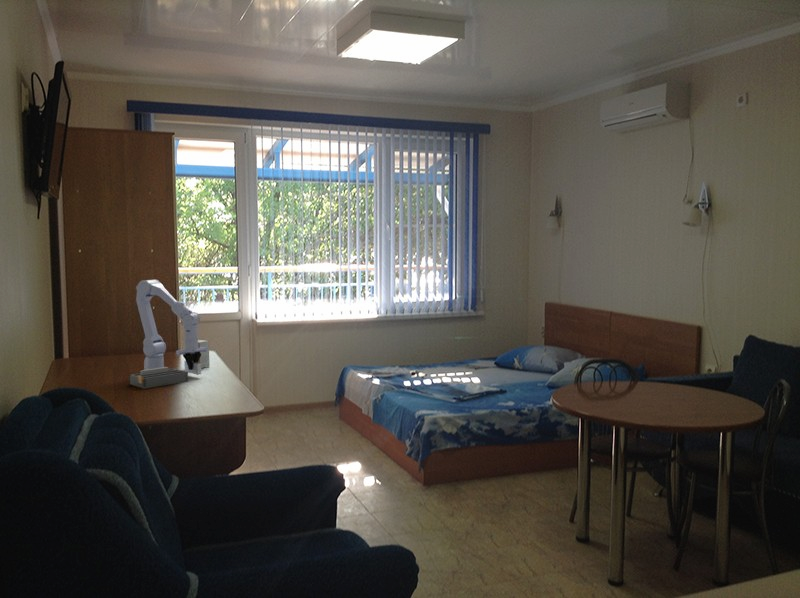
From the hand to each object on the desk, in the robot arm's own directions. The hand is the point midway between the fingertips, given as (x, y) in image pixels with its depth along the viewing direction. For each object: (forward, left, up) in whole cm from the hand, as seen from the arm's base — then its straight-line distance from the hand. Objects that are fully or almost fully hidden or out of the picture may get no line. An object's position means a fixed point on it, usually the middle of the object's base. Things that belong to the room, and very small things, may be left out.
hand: (192, 369), depth 308 cm
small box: (-20, +14, -4) cm, 25 cm away
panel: (0, 0, -2) cm, 2 cm away
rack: (+2, -17, -3) cm, 17 cm away
